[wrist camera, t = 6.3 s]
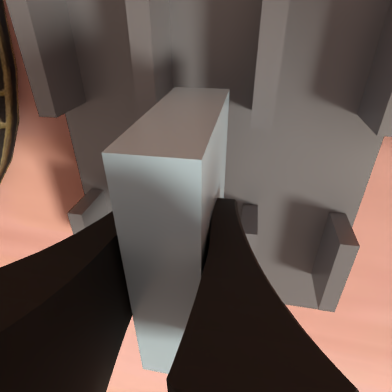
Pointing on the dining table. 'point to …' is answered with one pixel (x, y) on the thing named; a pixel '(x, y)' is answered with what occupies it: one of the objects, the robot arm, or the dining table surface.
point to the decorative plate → (7, 95)
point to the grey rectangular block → (167, 210)
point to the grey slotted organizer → (232, 109)
